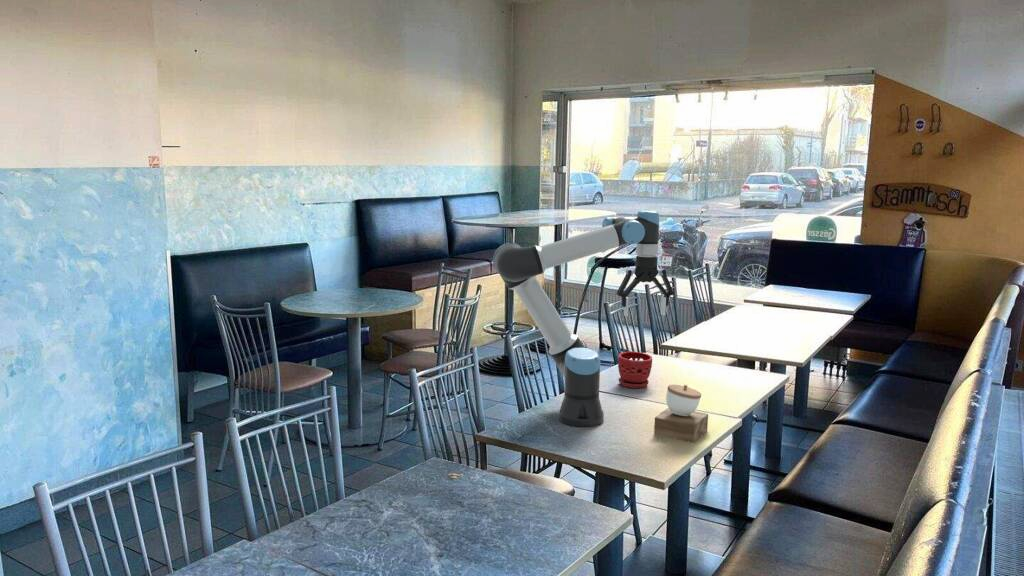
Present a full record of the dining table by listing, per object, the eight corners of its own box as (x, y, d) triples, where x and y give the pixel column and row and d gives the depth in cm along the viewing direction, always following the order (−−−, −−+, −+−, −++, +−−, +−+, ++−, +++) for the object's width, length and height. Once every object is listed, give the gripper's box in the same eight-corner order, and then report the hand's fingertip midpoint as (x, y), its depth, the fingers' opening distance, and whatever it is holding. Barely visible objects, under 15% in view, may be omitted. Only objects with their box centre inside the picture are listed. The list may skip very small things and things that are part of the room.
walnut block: (693, 443, 227) (694, 425, 226) (654, 435, 234) (654, 417, 233) (707, 431, 237) (708, 413, 236) (669, 423, 244) (670, 406, 243)
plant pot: (615, 388, 281) (616, 358, 279) (619, 379, 294) (620, 350, 292) (650, 391, 278) (651, 360, 276) (652, 381, 291) (653, 352, 289)
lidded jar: (656, 407, 235) (662, 380, 234) (676, 406, 242) (682, 379, 241) (682, 419, 228) (689, 391, 226) (702, 417, 235) (709, 390, 233)
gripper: (677, 253, 259) (674, 312, 263) (609, 254, 256) (607, 313, 259) (685, 256, 252) (682, 316, 255) (615, 257, 248) (613, 318, 252)
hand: (644, 315), depth 257 cm, fingers open, 13 cm apart
